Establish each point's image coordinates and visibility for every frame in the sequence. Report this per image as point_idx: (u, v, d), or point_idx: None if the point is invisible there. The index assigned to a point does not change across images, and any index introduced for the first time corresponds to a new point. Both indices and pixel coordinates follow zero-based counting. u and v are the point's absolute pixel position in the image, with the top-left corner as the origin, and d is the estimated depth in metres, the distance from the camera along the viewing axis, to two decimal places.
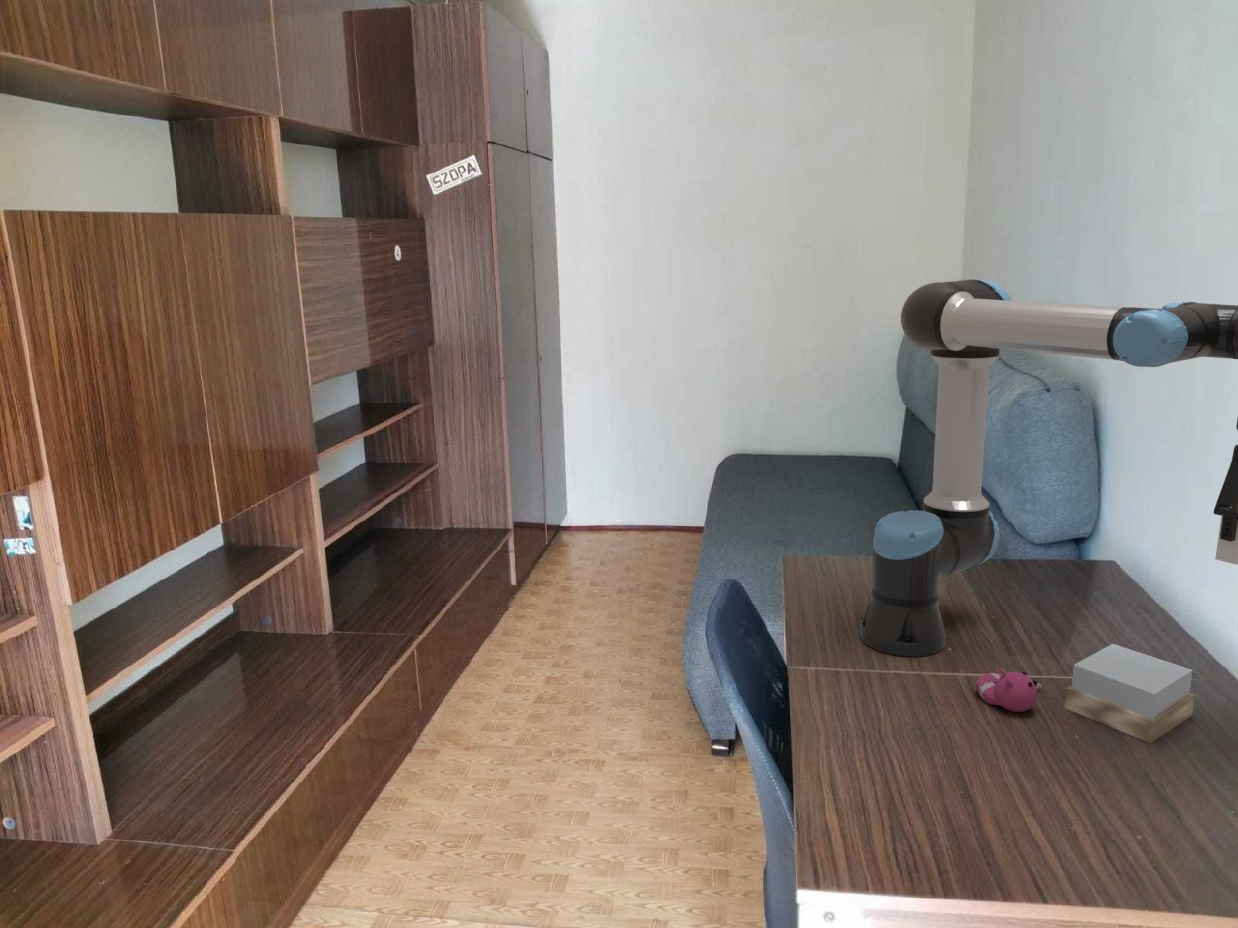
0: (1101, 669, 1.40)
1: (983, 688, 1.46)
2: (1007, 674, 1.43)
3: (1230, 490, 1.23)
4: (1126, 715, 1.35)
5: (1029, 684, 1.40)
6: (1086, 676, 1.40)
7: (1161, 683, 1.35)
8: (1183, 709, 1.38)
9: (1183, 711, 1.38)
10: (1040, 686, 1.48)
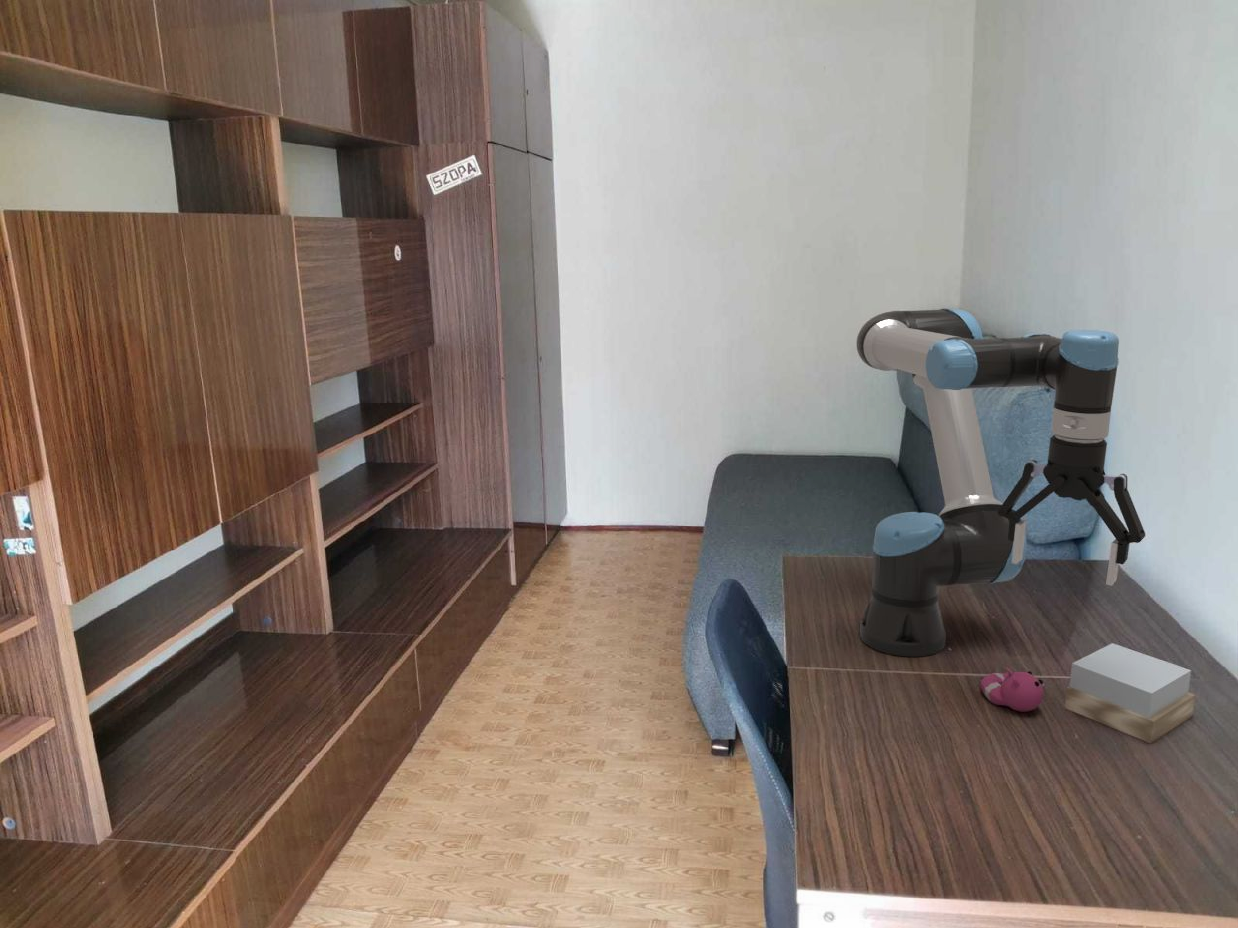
0: (1099, 668, 1.40)
1: (989, 689, 1.45)
2: (1013, 674, 1.43)
3: None
4: (1126, 714, 1.35)
5: (1036, 683, 1.41)
6: (1084, 675, 1.40)
7: (1158, 683, 1.35)
8: (1183, 709, 1.38)
9: (1184, 711, 1.38)
10: (1043, 684, 1.49)
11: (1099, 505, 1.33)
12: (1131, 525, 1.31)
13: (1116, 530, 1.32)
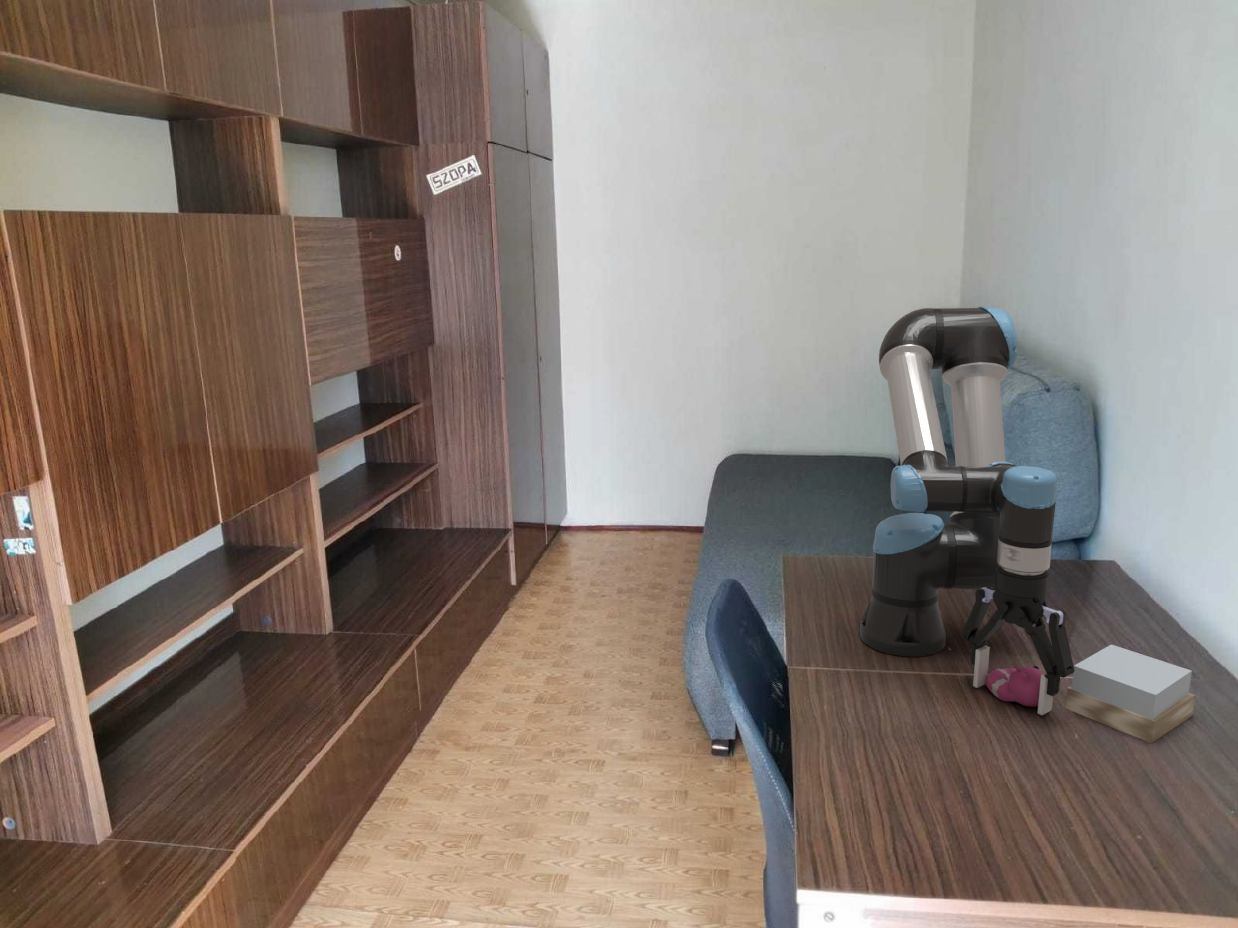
0: (1101, 670, 1.39)
1: (997, 685, 1.46)
2: (1021, 670, 1.44)
3: None
4: (1126, 715, 1.35)
5: None
6: (1087, 677, 1.40)
7: (1161, 684, 1.35)
8: (1183, 709, 1.38)
9: (1184, 711, 1.38)
10: None
11: (1035, 636, 1.39)
12: (1059, 660, 1.37)
13: (1046, 662, 1.38)
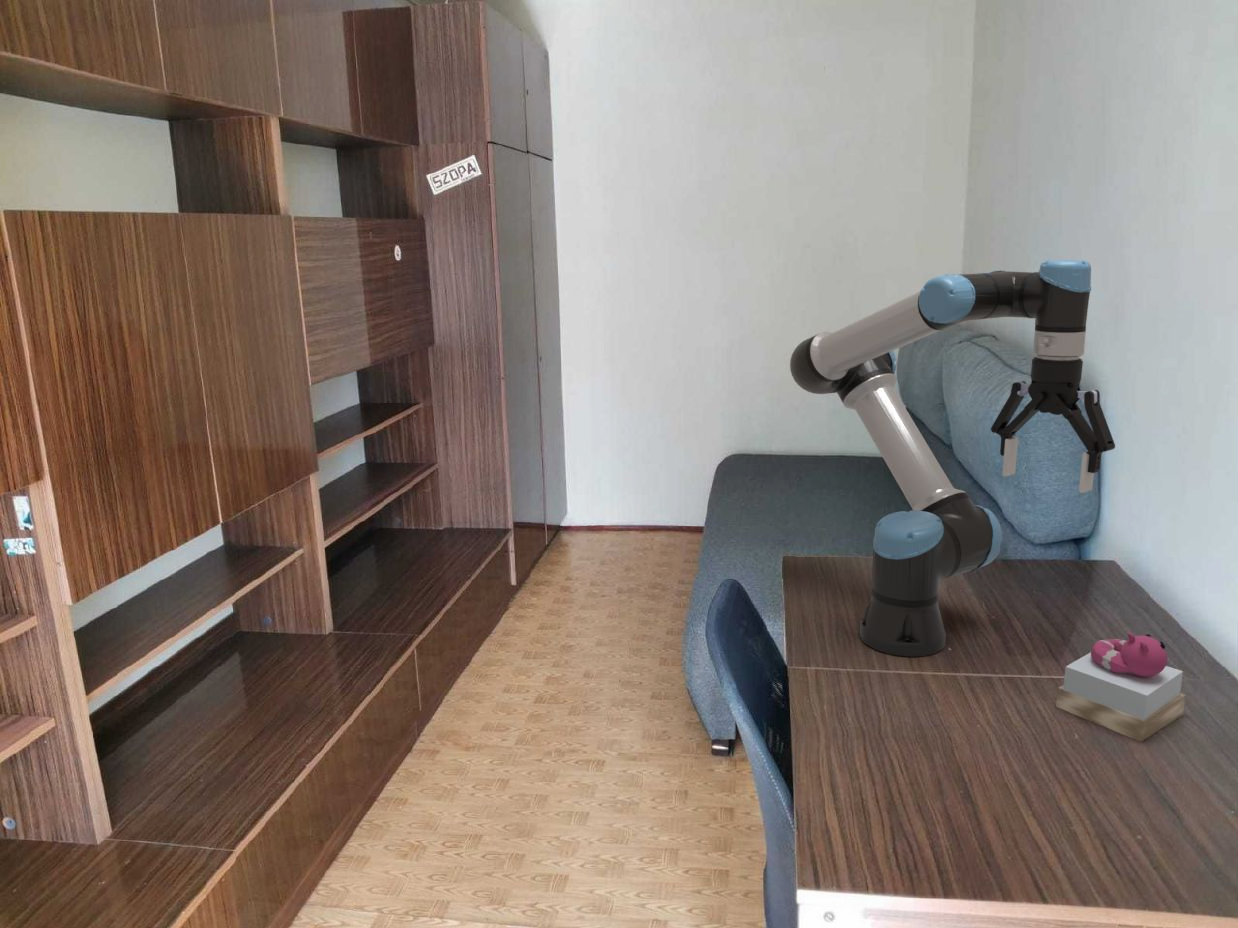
0: (1093, 671, 1.40)
1: (1108, 657, 1.39)
2: (1135, 639, 1.37)
3: None
4: (1116, 714, 1.36)
5: (1162, 646, 1.35)
6: (1078, 678, 1.40)
7: (1152, 685, 1.35)
8: (1173, 709, 1.38)
9: (1174, 711, 1.39)
10: None
11: (1072, 418, 1.47)
12: (1099, 435, 1.44)
13: (1086, 440, 1.45)
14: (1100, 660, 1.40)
